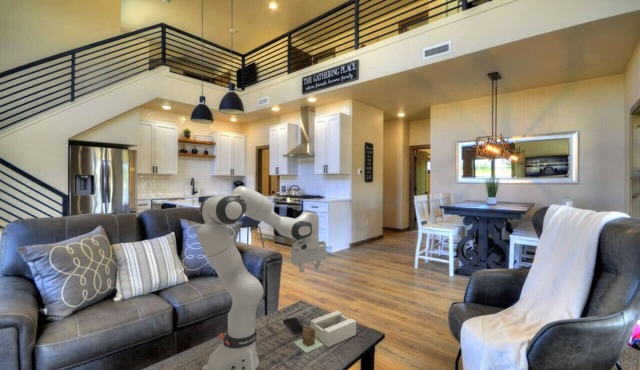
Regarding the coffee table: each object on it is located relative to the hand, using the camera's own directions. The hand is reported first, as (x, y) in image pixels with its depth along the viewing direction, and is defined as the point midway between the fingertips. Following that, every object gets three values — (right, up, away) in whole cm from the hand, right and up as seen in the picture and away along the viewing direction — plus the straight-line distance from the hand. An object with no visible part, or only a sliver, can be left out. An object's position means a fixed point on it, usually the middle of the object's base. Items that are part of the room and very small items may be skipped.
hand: (309, 270), depth 152 cm
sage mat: (0, -32, -11) cm, 33 cm away
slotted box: (+12, -31, -1) cm, 34 cm away
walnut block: (0, -31, -11) cm, 33 cm away
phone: (-8, -31, +6) cm, 33 cm away
